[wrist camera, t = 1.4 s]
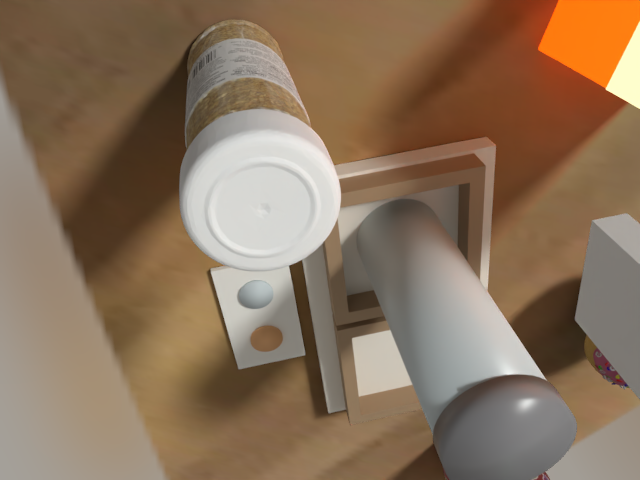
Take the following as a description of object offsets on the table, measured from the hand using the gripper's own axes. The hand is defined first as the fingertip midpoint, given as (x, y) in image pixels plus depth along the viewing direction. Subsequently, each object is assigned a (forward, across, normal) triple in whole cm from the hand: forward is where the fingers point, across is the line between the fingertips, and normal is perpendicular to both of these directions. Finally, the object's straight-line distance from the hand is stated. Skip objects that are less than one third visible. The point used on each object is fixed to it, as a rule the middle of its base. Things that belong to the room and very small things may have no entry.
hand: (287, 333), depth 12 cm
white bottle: (+17, +7, -10) cm, 21 cm away
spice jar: (+19, 0, 0) cm, 19 cm away
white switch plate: (+18, -2, -15) cm, 24 cm away
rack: (+18, +7, -15) cm, 25 cm away
